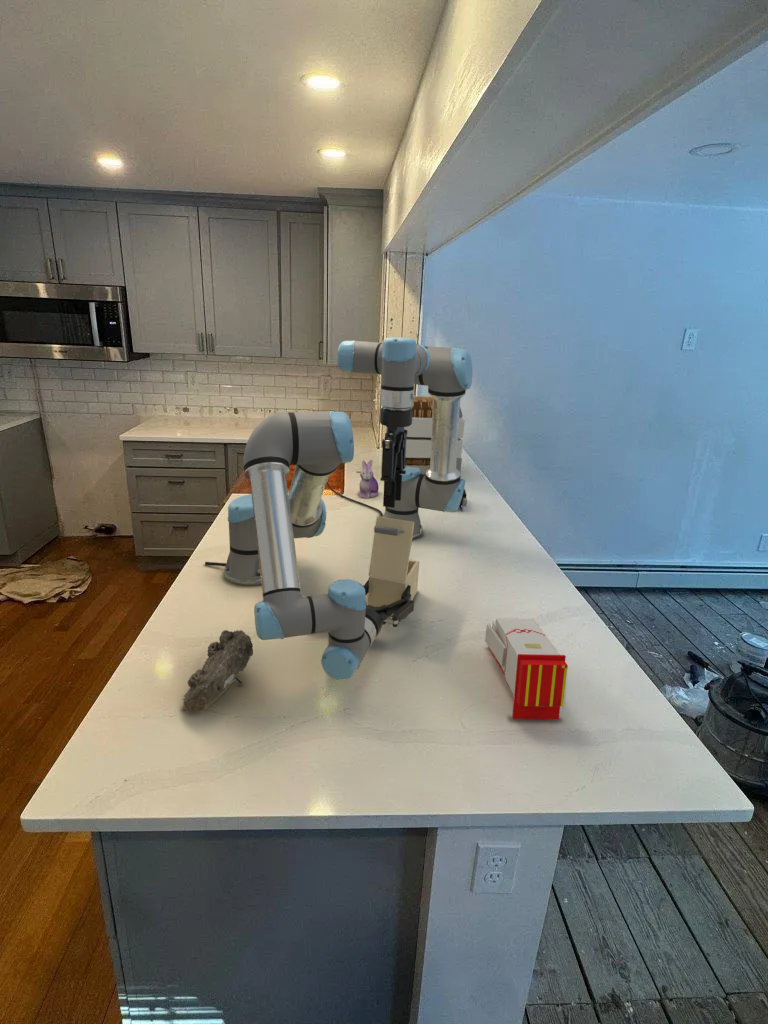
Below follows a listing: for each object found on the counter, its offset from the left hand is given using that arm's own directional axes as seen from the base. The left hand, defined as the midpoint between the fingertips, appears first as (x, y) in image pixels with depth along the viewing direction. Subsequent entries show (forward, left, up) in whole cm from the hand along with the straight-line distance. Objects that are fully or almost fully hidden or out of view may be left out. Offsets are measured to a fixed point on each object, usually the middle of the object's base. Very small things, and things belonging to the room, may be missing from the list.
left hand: (389, 586), depth 148 cm
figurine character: (+2, +90, -6) cm, 90 cm away
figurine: (-35, +89, -6) cm, 96 cm away
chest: (0, +4, -6) cm, 8 cm away
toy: (+35, -19, -6) cm, 40 cm away
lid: (0, 0, +11) cm, 11 cm away
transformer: (-24, +131, -6) cm, 134 cm away
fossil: (-23, -42, -6) cm, 49 cm away
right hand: (0, -2, +24) cm, 24 cm away
